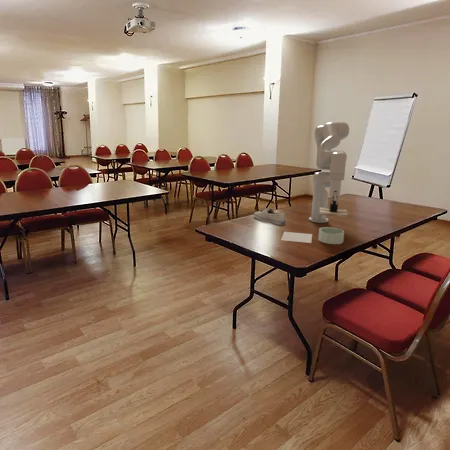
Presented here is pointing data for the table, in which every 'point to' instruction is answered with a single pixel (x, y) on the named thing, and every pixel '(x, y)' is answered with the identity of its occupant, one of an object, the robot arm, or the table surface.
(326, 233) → the bowl
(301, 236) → the mat
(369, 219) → the table surface
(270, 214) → the boat shoe
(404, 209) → the table surface
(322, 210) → the lid
